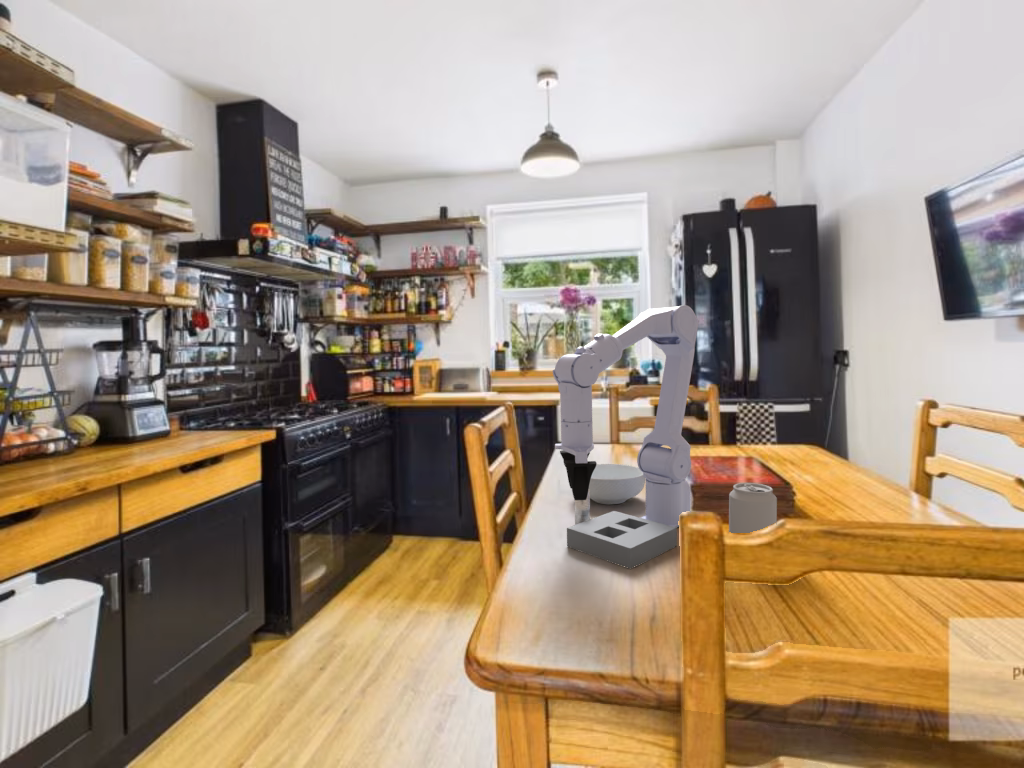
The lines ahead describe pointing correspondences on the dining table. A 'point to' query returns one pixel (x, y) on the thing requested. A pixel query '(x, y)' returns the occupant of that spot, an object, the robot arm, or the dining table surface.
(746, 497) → the can
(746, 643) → the dining table surface
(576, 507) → the pin
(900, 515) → the dining table surface
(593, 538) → the hole block
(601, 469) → the cereal bowl
